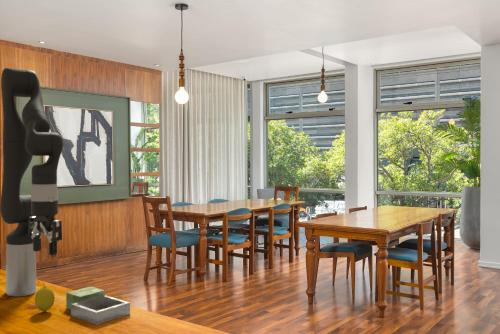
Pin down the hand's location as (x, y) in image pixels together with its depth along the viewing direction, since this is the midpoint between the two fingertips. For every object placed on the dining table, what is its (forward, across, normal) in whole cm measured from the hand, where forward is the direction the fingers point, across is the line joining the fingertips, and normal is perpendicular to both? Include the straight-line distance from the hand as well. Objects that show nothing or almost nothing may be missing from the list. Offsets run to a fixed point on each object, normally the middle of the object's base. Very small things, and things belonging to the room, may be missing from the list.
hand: (44, 252), depth 153 cm
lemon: (+18, 0, 0) cm, 18 cm away
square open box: (+18, +11, +9) cm, 23 cm away
